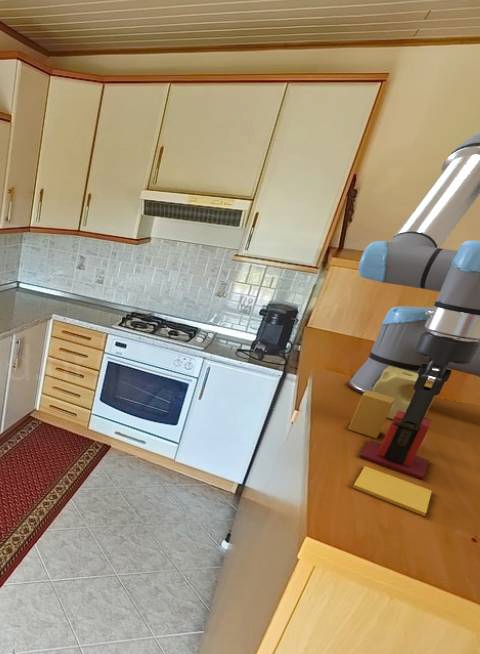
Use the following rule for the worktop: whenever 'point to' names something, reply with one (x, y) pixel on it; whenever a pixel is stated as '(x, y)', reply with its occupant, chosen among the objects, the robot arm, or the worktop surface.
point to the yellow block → (371, 413)
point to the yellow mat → (393, 490)
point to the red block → (416, 442)
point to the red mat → (414, 470)
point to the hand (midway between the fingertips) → (395, 455)
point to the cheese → (397, 388)
